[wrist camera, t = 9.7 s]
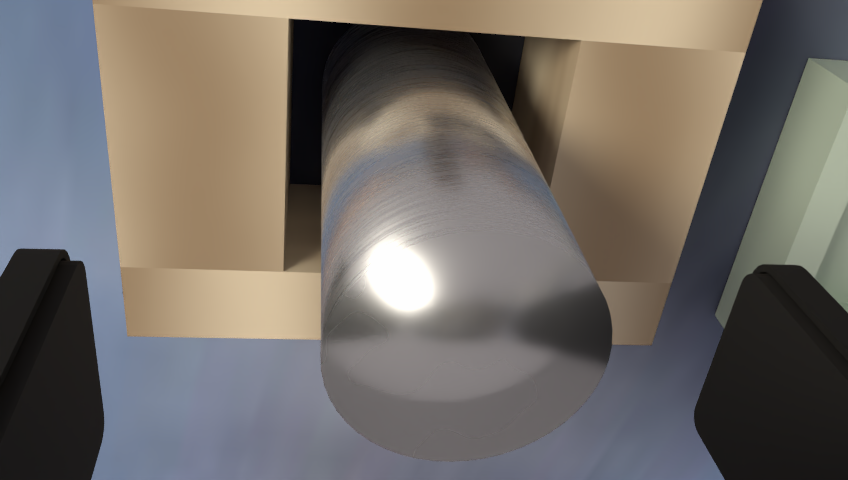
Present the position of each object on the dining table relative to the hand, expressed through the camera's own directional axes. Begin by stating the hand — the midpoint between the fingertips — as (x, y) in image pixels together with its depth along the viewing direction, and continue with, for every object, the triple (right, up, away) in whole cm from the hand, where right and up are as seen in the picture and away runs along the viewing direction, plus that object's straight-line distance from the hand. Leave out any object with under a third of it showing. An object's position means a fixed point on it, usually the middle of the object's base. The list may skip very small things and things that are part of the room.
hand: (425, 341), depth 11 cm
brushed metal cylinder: (0, +5, +8) cm, 9 cm away
